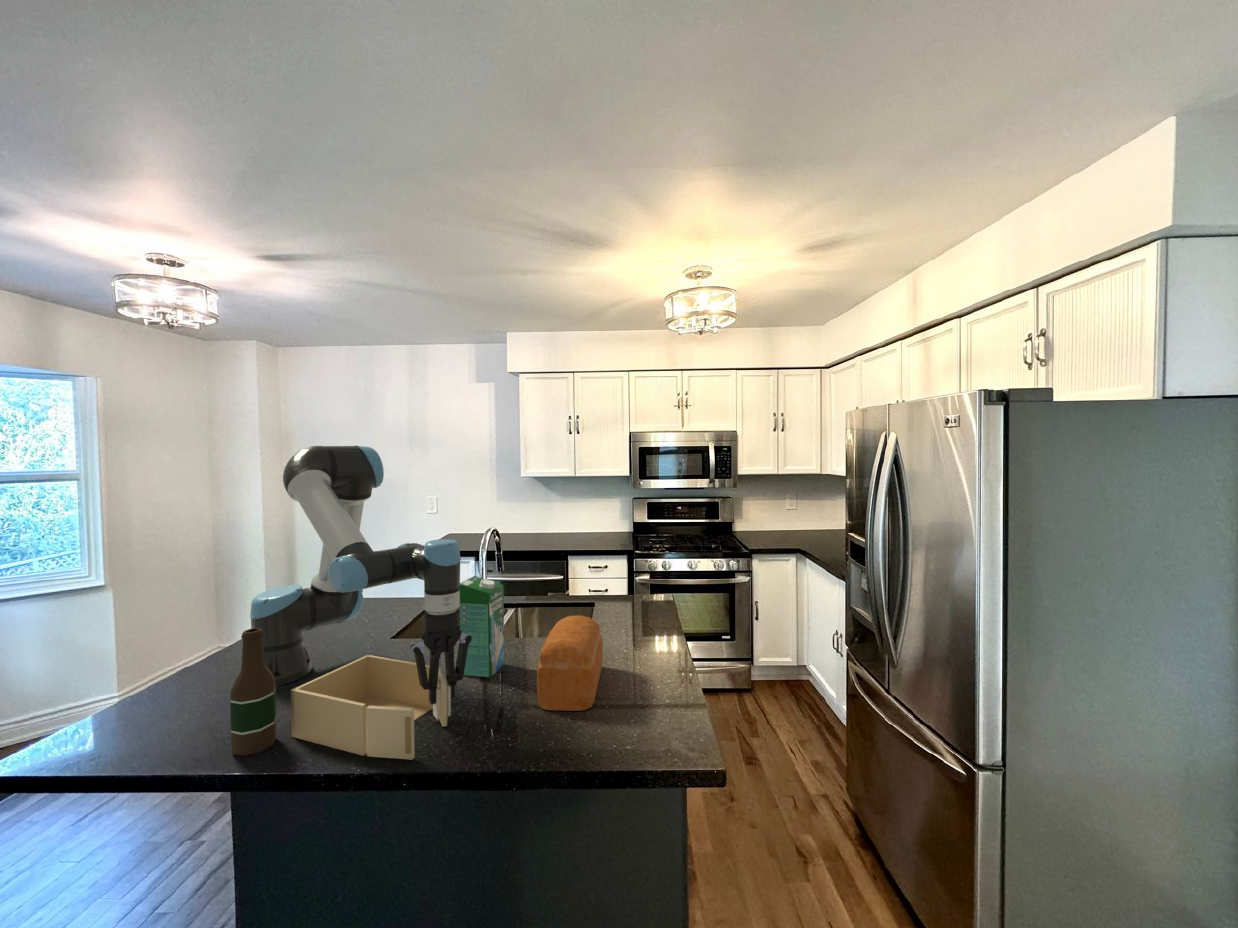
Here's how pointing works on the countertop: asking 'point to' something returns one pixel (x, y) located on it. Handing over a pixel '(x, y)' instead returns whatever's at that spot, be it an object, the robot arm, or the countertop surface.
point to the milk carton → (482, 625)
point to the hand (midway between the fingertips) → (441, 714)
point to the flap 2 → (443, 698)
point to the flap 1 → (390, 732)
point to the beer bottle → (253, 700)
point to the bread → (570, 665)
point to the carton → (354, 701)
